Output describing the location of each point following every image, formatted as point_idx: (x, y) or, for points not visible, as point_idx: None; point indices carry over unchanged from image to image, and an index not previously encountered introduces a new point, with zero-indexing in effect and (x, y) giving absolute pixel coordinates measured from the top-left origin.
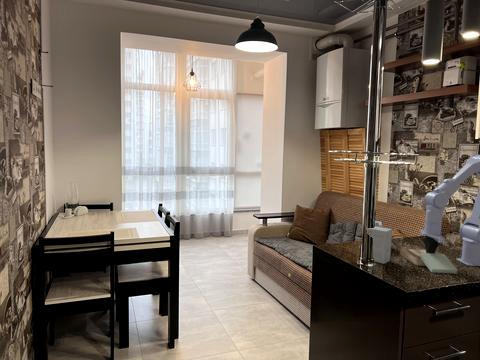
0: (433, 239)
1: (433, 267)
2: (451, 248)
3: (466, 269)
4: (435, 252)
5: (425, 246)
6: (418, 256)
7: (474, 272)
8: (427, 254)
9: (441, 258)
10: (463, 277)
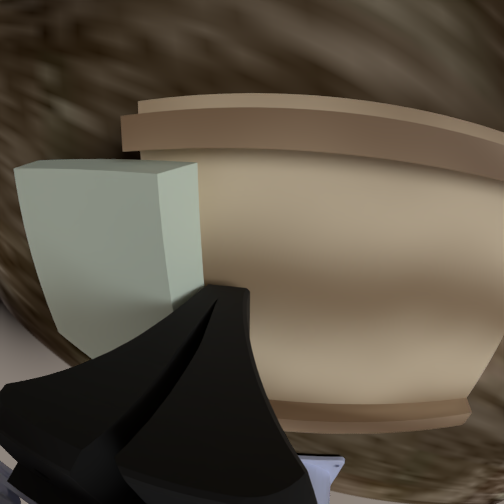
0: (12, 475)
1: (22, 187)
2: (476, 471)
3: None
4: (358, 417)
5: (231, 358)
6: (133, 123)
7: None
8: (142, 263)
9: None
10: (36, 308)
